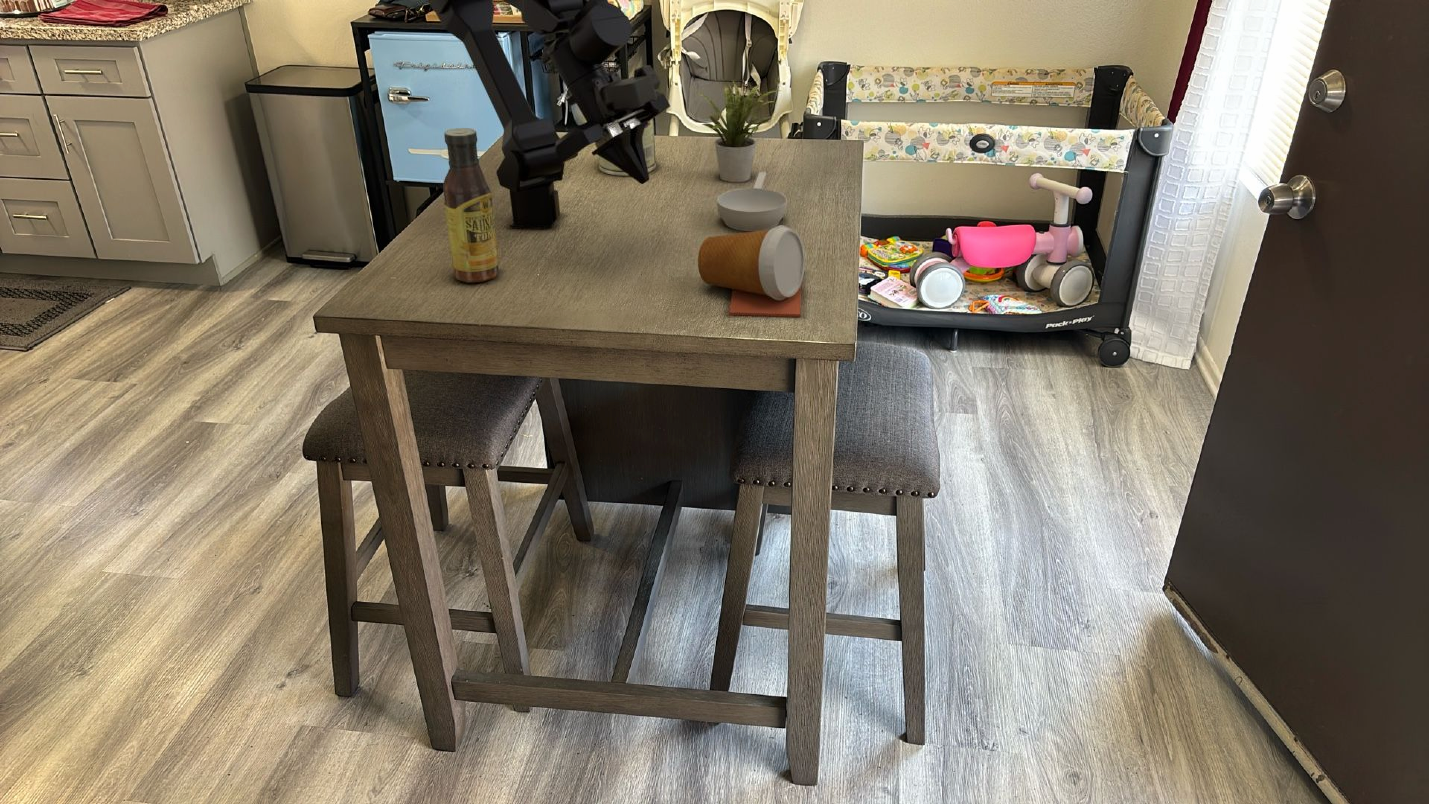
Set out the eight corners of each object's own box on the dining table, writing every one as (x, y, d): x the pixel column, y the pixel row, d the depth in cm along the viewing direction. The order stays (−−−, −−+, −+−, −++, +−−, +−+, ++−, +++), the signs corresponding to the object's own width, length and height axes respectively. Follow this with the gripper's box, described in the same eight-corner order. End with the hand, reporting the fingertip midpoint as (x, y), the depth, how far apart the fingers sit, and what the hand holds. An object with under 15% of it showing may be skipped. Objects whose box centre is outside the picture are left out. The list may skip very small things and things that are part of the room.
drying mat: (729, 315, 125) (729, 312, 125) (736, 270, 137) (736, 268, 137) (800, 317, 124) (800, 314, 124) (801, 272, 136) (801, 269, 136)
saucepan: (711, 231, 150) (711, 207, 148) (730, 192, 165) (730, 170, 163) (782, 235, 148) (782, 211, 146) (794, 195, 163) (795, 173, 161)
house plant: (799, 179, 170) (803, 83, 162) (739, 197, 163) (740, 97, 154) (744, 161, 180) (745, 68, 171) (685, 176, 172) (683, 81, 164)
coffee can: (609, 156, 182) (604, 78, 175) (662, 160, 180) (660, 81, 173) (590, 174, 174) (584, 92, 167) (646, 178, 172) (643, 95, 165)
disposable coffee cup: (709, 310, 133) (788, 316, 127) (682, 262, 126) (764, 265, 120) (735, 259, 137) (813, 261, 131) (710, 209, 130) (791, 209, 124)
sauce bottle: (477, 288, 132) (456, 141, 122) (444, 279, 135) (421, 134, 125) (511, 272, 137) (493, 129, 127) (477, 263, 140) (458, 122, 130)
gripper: (575, 67, 120) (641, 181, 123) (665, 32, 132) (723, 137, 135) (526, 107, 127) (589, 214, 130) (615, 71, 140) (670, 169, 143)
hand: (645, 182), depth 135 cm, fingers closed
